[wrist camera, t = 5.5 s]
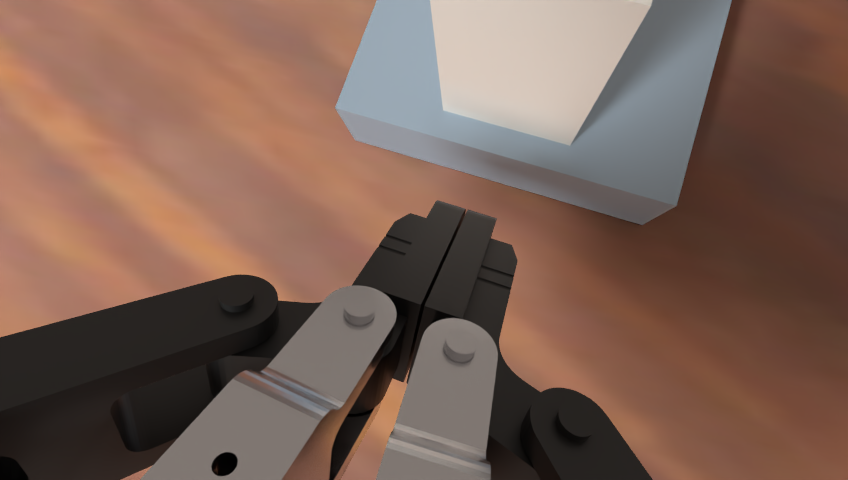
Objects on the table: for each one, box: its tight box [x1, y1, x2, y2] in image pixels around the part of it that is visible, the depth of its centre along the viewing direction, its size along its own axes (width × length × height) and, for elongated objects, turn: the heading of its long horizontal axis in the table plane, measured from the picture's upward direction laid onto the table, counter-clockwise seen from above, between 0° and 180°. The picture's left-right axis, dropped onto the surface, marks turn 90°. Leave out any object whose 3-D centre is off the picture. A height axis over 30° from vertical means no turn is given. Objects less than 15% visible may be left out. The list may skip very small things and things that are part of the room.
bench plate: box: [335, 0, 732, 225], centre depth 18 cm, size 12×14×3 cm
